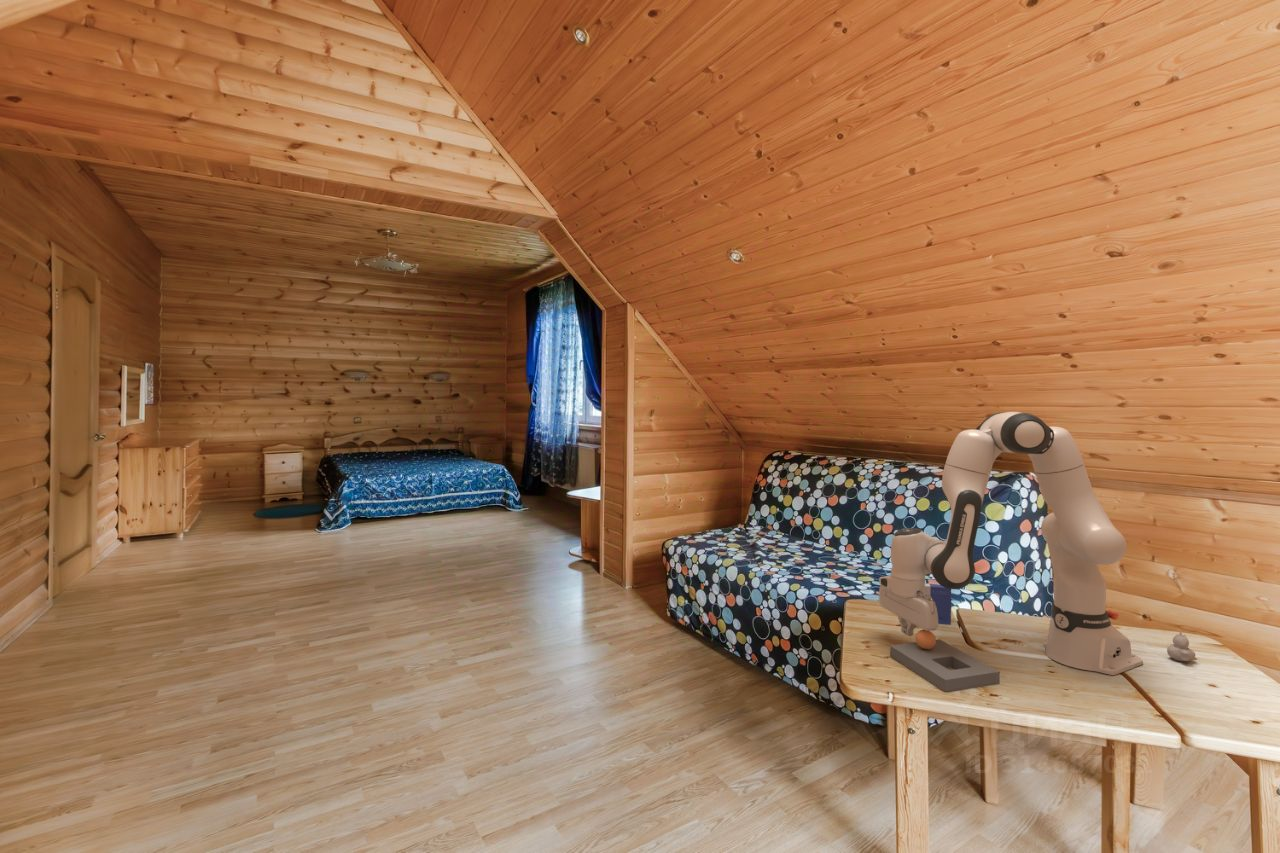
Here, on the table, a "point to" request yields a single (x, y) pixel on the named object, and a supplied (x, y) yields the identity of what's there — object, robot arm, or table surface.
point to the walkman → (940, 601)
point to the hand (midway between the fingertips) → (907, 633)
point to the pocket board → (945, 666)
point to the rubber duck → (1180, 649)
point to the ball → (925, 639)
